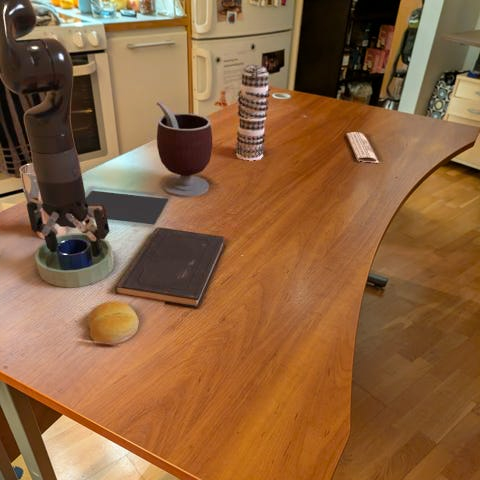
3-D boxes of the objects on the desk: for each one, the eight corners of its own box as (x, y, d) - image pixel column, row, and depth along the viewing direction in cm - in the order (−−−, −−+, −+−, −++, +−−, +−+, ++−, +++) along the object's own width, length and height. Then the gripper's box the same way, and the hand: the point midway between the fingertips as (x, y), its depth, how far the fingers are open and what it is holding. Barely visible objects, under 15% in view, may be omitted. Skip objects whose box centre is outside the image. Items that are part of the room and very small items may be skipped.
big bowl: (26, 284, 87) (21, 267, 85) (58, 246, 98) (54, 229, 96) (98, 293, 86) (95, 276, 84) (123, 254, 97) (121, 237, 95)
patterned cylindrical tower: (270, 156, 144) (279, 67, 128) (250, 163, 139) (257, 72, 123) (249, 148, 149) (254, 61, 133) (228, 154, 144) (232, 65, 128)
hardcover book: (225, 245, 102) (225, 236, 100) (198, 308, 85) (198, 299, 83) (155, 235, 104) (155, 226, 102) (115, 295, 86) (114, 285, 85)
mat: (66, 220, 107) (66, 219, 106) (92, 191, 119) (92, 190, 119) (150, 230, 105) (150, 228, 105) (168, 200, 118) (168, 198, 117)
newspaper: (346, 136, 163) (347, 131, 162) (366, 138, 163) (367, 132, 162) (356, 162, 145) (358, 156, 144) (379, 163, 145) (380, 157, 144)
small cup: (55, 273, 90) (50, 253, 87) (68, 256, 95) (64, 236, 92) (86, 277, 89) (82, 256, 86) (97, 259, 94) (94, 240, 91)
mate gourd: (221, 186, 126) (224, 108, 113) (189, 203, 117) (188, 121, 104) (178, 171, 132) (175, 96, 119) (144, 186, 123) (137, 107, 110)
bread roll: (93, 351, 75) (89, 333, 72) (87, 317, 81) (83, 299, 78) (144, 341, 77) (142, 323, 75) (134, 308, 84) (131, 291, 81)
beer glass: (35, 228, 103) (17, 163, 94) (67, 224, 105) (54, 160, 96) (36, 244, 98) (18, 176, 89) (70, 239, 100) (56, 173, 91)
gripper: (105, 168, 82) (117, 246, 92) (29, 160, 83) (49, 239, 93) (90, 185, 76) (104, 267, 87) (8, 177, 77) (31, 259, 88)
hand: (75, 252), depth 90 cm, fingers open, 8 cm apart
